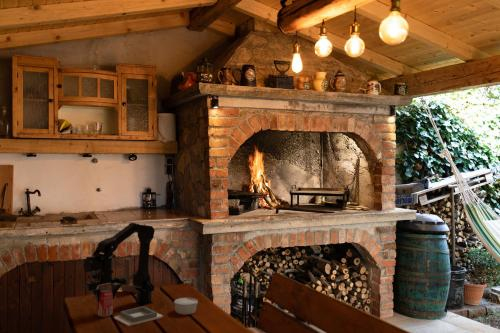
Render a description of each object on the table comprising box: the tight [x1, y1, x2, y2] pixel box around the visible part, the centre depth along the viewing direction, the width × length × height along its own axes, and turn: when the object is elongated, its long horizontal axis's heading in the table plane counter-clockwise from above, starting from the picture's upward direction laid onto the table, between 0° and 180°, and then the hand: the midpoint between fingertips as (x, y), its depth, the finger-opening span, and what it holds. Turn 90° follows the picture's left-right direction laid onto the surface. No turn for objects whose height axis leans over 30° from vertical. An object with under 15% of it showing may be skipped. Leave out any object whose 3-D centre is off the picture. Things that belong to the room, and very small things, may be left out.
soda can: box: [96, 287, 114, 318], centre depth 214 cm, size 7×7×12 cm
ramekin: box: [173, 297, 199, 316], centre depth 222 cm, size 11×11×5 cm
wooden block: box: [121, 257, 139, 294], centre depth 254 cm, size 4×11×18 cm, turn 70°
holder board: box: [113, 305, 164, 327], centre depth 212 cm, size 18×13×3 cm
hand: (105, 301), depth 214 cm, fingers closed on soda can, 7 cm apart
